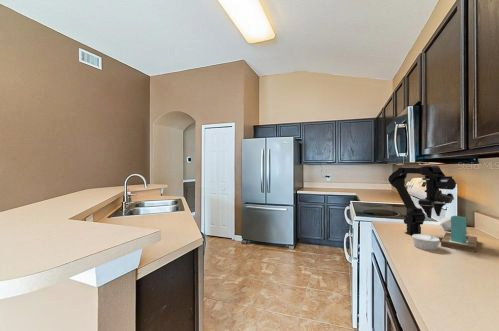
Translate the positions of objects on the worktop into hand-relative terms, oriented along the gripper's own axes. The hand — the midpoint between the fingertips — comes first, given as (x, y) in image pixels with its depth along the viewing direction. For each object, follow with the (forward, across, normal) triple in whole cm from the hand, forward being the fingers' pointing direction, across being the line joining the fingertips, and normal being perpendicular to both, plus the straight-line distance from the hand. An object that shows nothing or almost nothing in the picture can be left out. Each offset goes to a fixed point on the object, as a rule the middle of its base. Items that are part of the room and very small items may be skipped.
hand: (434, 217), depth 130 cm
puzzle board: (+14, +6, -8) cm, 17 cm away
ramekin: (+14, -15, -2) cm, 20 cm away
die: (+13, +31, +6) cm, 34 cm away
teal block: (+11, +1, -10) cm, 15 cm away
